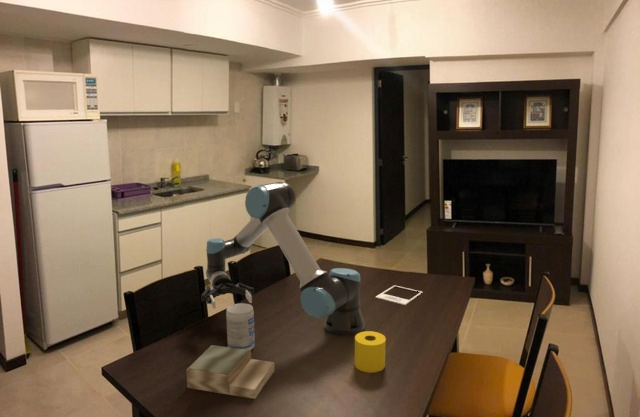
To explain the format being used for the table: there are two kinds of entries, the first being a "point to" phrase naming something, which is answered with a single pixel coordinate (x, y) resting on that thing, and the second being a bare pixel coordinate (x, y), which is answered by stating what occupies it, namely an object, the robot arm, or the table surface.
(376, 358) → the yellow hollow cylinder
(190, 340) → the table surface
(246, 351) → the birch riser
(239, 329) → the supplement tub
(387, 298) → the photo frame
